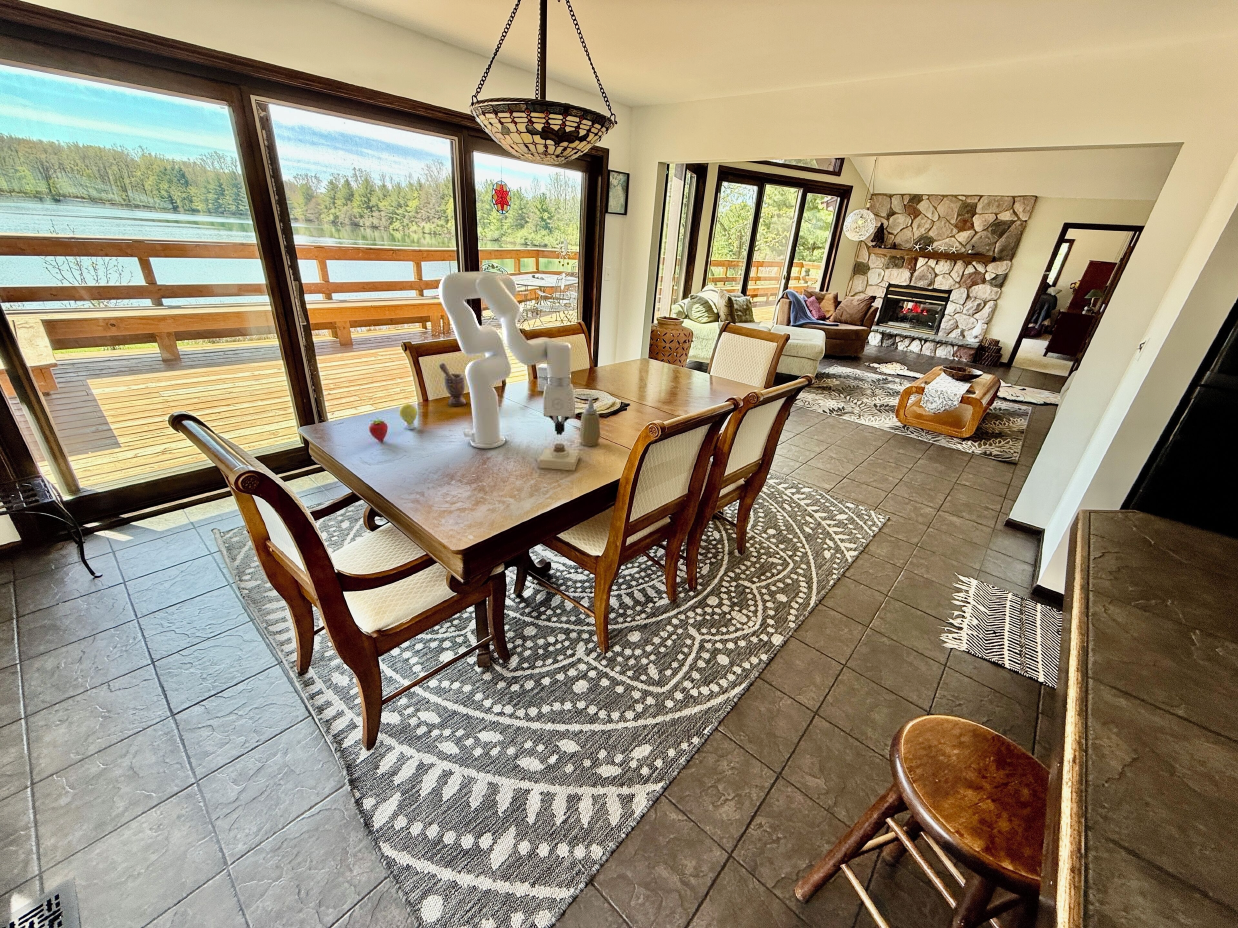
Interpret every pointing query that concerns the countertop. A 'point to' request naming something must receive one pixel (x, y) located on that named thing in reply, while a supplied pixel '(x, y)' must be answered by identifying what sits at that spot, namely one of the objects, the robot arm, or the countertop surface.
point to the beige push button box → (559, 459)
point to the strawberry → (378, 429)
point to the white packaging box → (542, 372)
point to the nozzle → (559, 448)
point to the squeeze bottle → (590, 425)
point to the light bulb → (408, 414)
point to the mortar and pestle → (454, 386)
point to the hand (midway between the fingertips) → (559, 433)
